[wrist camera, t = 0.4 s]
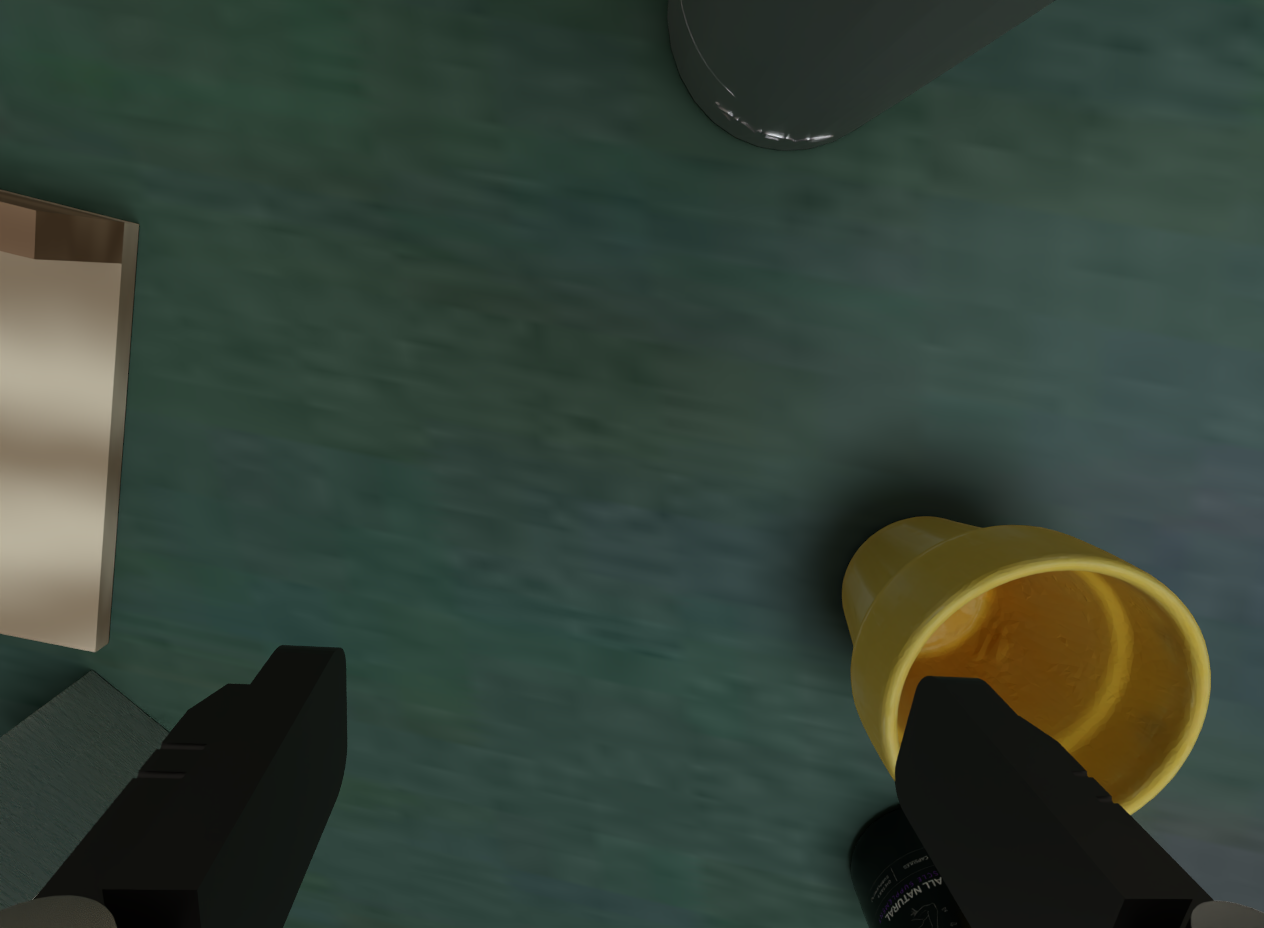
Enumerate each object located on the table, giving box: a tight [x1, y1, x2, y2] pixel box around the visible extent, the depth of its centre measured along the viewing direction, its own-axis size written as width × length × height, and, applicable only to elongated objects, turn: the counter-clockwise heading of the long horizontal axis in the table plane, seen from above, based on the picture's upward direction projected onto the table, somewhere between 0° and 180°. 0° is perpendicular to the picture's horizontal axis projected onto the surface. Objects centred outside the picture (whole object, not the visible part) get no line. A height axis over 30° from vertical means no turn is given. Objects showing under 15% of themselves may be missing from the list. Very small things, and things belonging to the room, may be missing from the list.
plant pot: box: [842, 516, 1211, 815], centre depth 26 cm, size 10×10×10 cm
